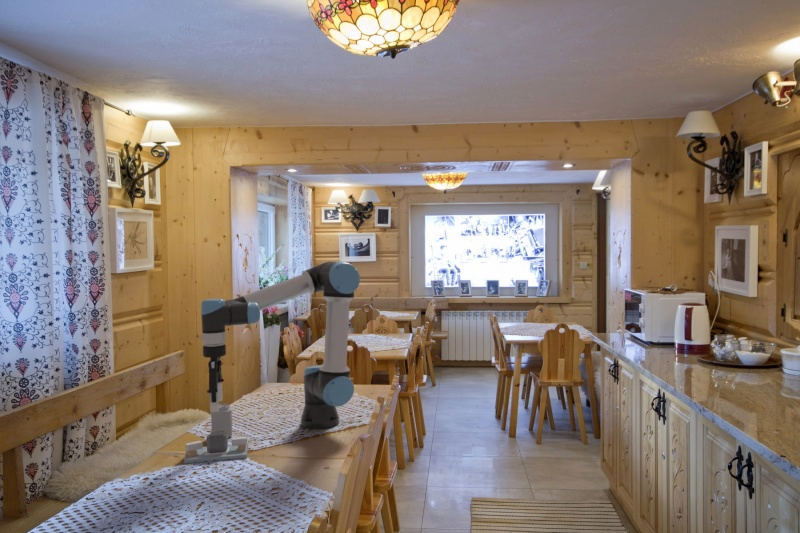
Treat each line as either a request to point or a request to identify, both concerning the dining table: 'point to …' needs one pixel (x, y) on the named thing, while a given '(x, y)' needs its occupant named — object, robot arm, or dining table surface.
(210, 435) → the stepped grey block
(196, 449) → the rig
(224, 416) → the can
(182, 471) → the dining table surface
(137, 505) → the dining table surface
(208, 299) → the robot arm
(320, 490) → the dining table surface
